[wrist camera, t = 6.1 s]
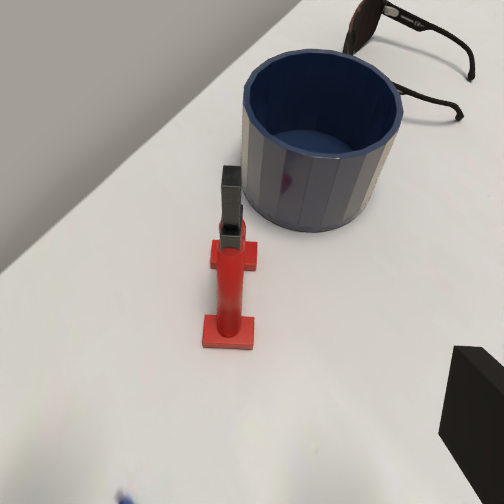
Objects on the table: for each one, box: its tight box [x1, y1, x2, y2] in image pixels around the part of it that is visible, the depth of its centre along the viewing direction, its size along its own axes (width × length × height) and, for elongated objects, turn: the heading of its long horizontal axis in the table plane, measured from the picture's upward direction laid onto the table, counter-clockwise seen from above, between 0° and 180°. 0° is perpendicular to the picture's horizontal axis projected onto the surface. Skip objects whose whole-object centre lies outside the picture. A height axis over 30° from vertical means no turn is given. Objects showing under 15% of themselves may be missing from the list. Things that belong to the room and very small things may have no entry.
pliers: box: [202, 165, 257, 349], centre depth 24 cm, size 3×7×12 cm, turn 178°
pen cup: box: [241, 49, 403, 232], centre depth 31 cm, size 10×10×8 cm
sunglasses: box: [343, 0, 475, 121], centre depth 39 cm, size 10×12×5 cm
